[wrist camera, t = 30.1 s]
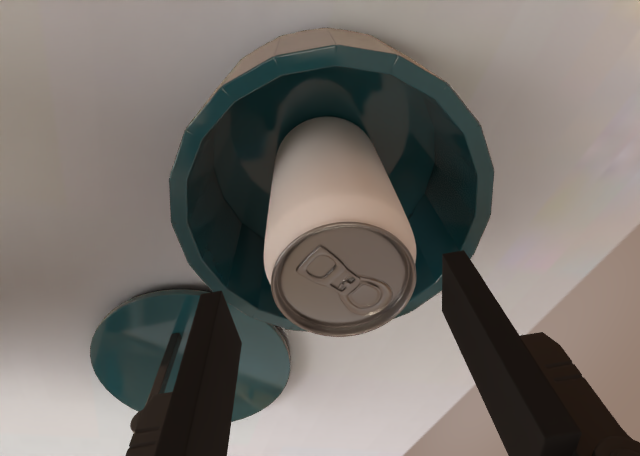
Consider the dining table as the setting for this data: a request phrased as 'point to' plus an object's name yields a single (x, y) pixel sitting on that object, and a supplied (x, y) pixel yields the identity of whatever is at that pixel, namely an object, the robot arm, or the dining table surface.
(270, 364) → the lid
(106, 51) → the dining table surface
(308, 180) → the can
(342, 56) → the pot
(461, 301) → the robot arm
